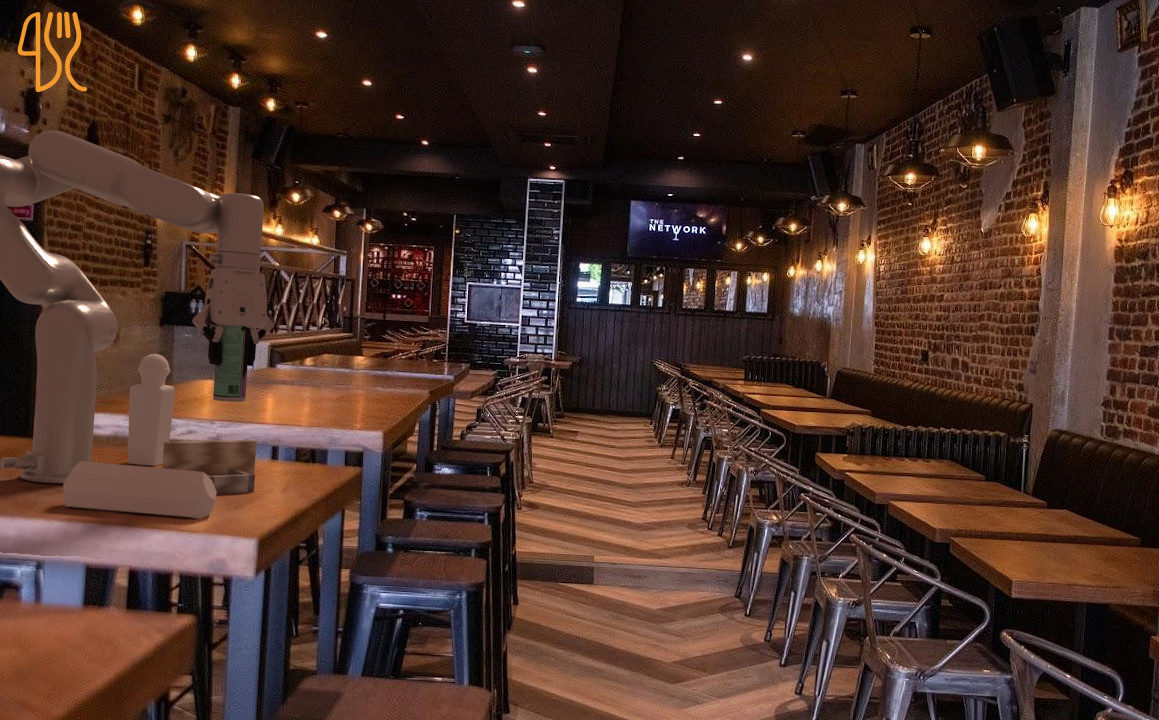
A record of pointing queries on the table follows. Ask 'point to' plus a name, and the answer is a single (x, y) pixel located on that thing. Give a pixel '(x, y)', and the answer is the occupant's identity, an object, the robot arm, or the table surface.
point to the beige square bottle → (150, 412)
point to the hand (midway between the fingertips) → (231, 364)
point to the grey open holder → (216, 462)
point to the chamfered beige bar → (139, 490)
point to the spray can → (232, 364)
